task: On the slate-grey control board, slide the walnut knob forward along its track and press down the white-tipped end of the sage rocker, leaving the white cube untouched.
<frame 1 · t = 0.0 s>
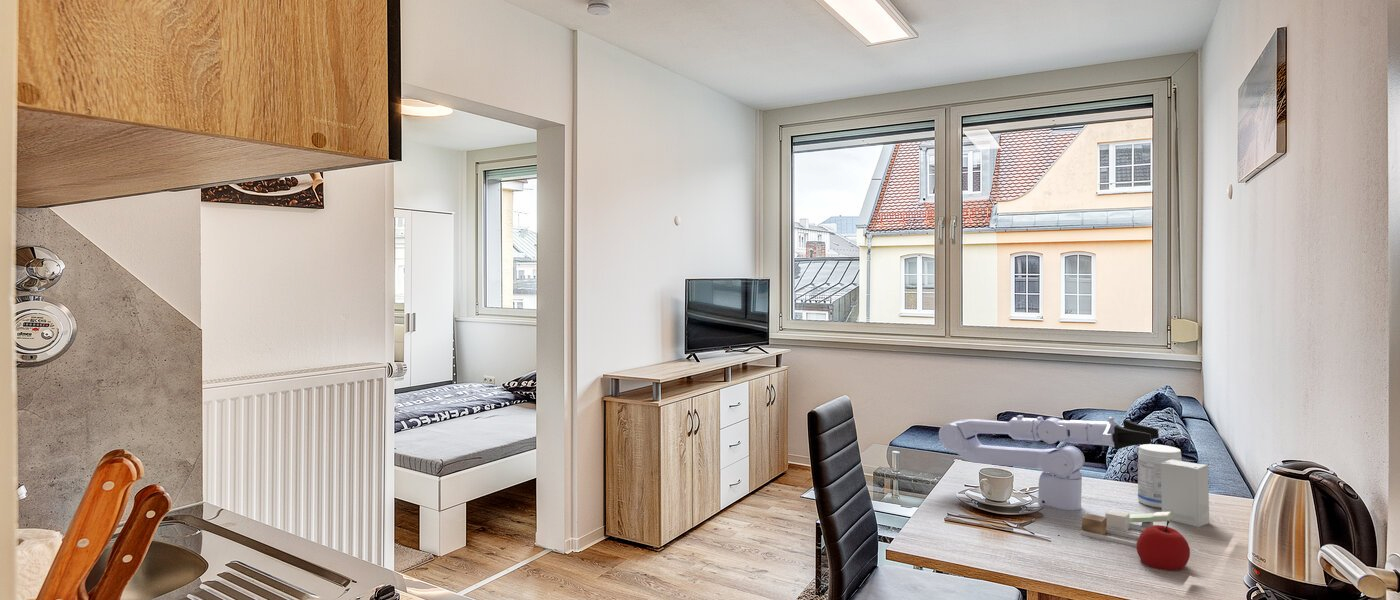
hand: (1154, 436, 170), 22 cm above the table, tool horizontal, fingers open, 7 cm apart
control board: (1126, 536, 165), on the table
supplement tub: (1158, 504, 190), on the table
apple: (1162, 571, 146), on the table
walnut knob: (1094, 525, 164), point 3 cm above the table, slide at 0.0 cm
white cube: (1117, 520, 167), point 3 cm above the table, slide at 0.0 cm
skincare box: (1184, 526, 173), on the table
sage rocker: (1147, 517, 167), point 4 cm above the table, hinge at -15.0°
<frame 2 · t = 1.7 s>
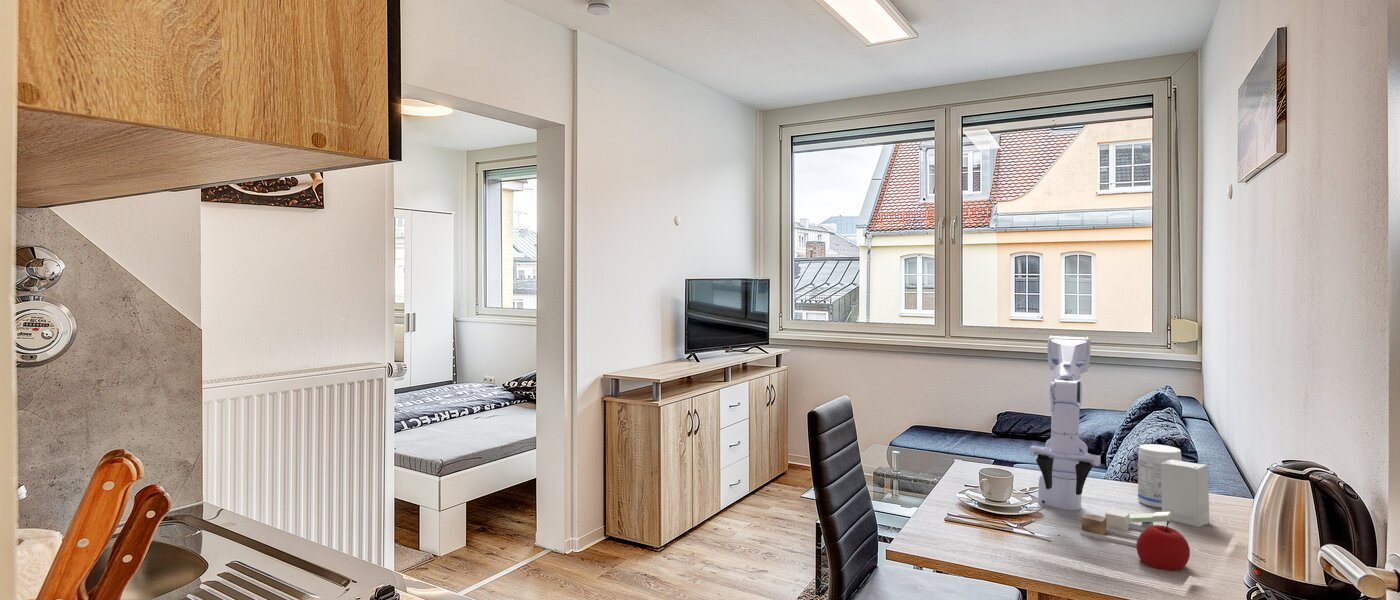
hand: (1063, 491, 168), 9 cm above the table, tool pointing down, fingers open, 6 cm apart
nothing on the table moved.
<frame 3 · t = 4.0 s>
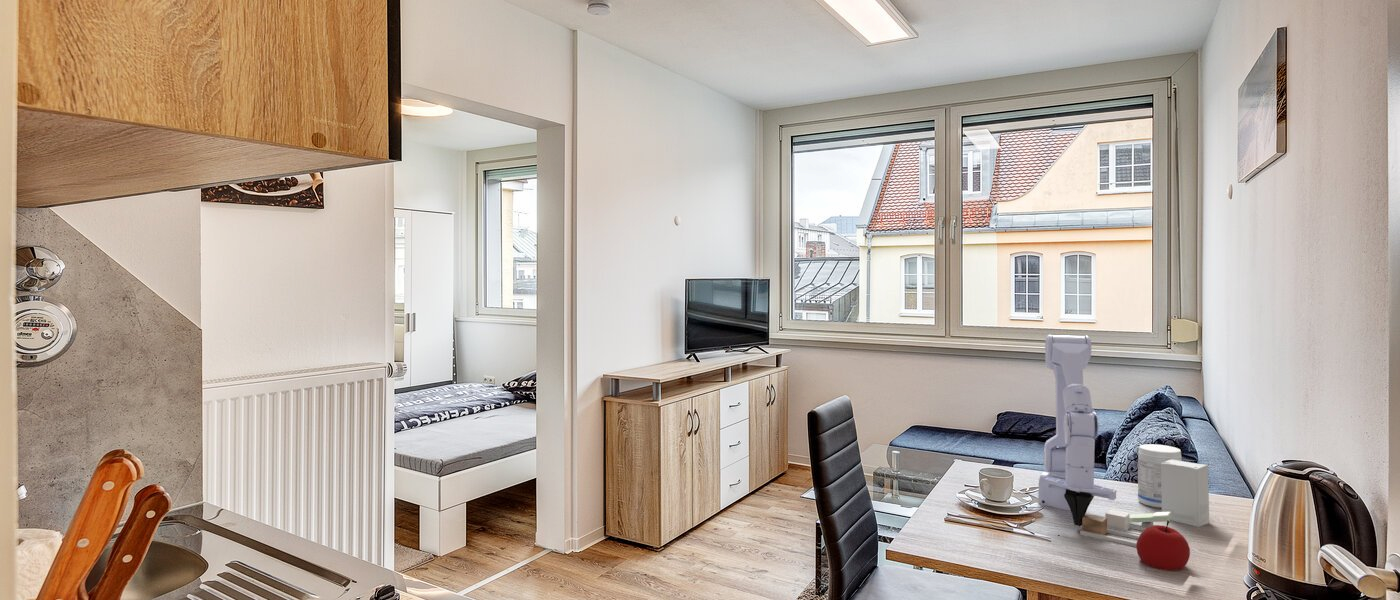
hand: (1078, 524, 166), 2 cm above the table, tool pointing down, fingers closed
walnut knob: (1094, 525, 164), point 3 cm above the table, slide at 0.1 cm, touching gripper
everything else where it was.
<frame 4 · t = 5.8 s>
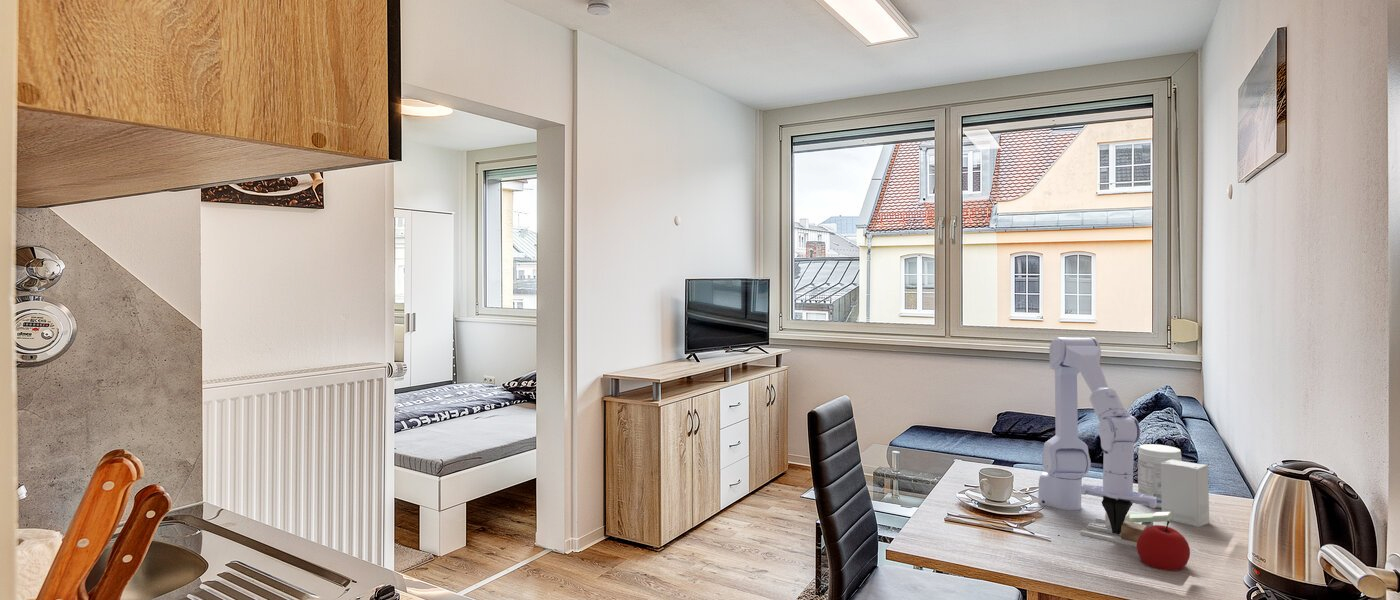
hand: (1116, 532, 161), 2 cm above the table, tool pointing down, fingers closed
walnut knob: (1133, 533, 158), point 3 cm above the table, slide at 7.8 cm, touching gripper
everything else where it was.
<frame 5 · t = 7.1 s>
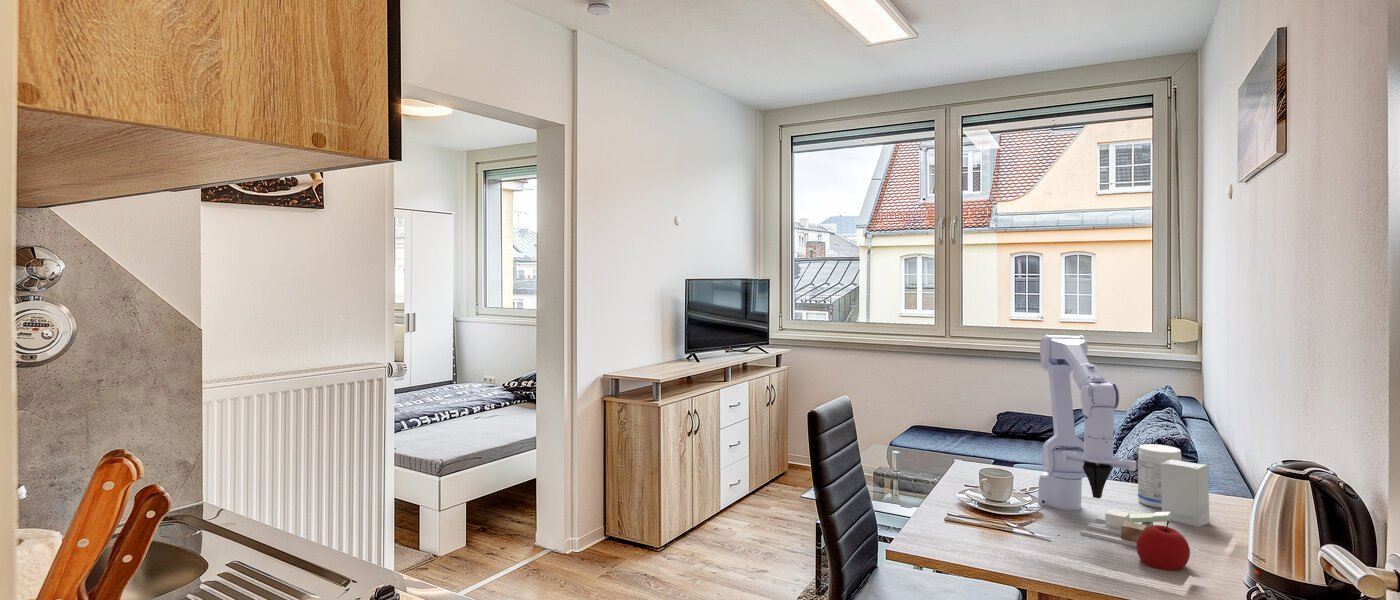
hand: (1097, 497, 164), 9 cm above the table, tool pointing down, fingers closed
walnut knob: (1133, 533, 158), point 3 cm above the table, slide at 7.8 cm
everything else where it was.
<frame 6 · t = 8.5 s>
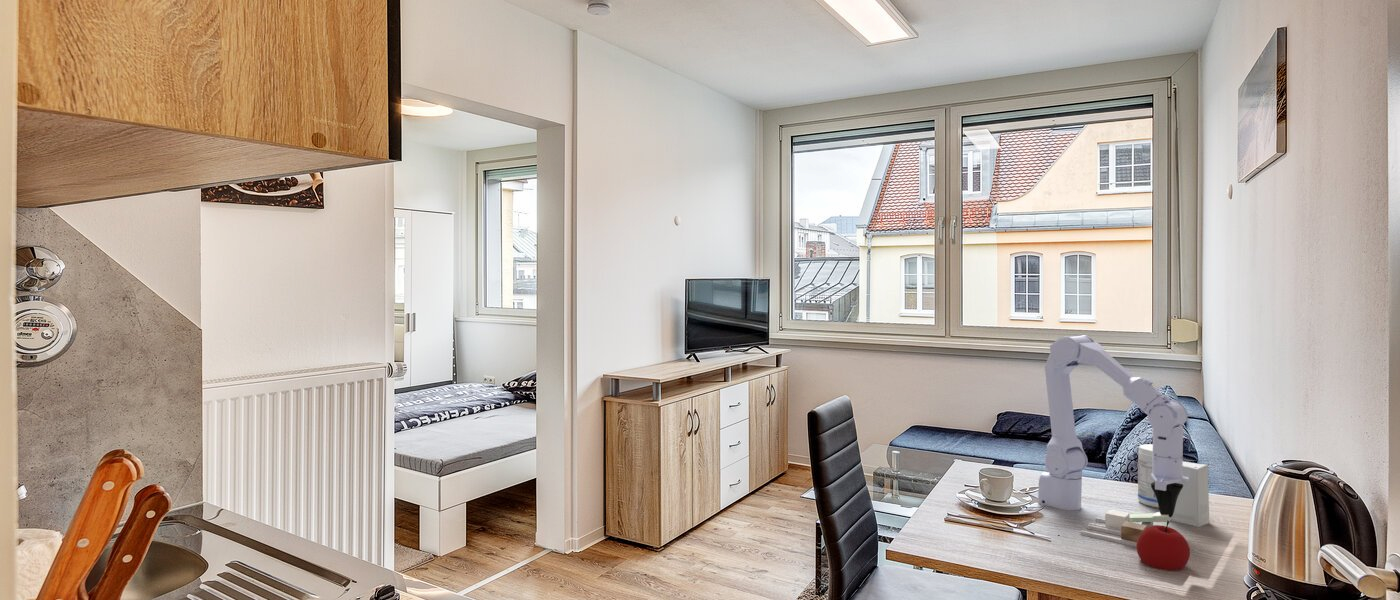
hand: (1166, 515, 164), 5 cm above the table, tool pointing down, fingers closed, pressing on sage rocker
sage rocker: (1147, 517, 167), point 4 cm above the table, hinge at -13.7°, touching gripper
everything else where it was.
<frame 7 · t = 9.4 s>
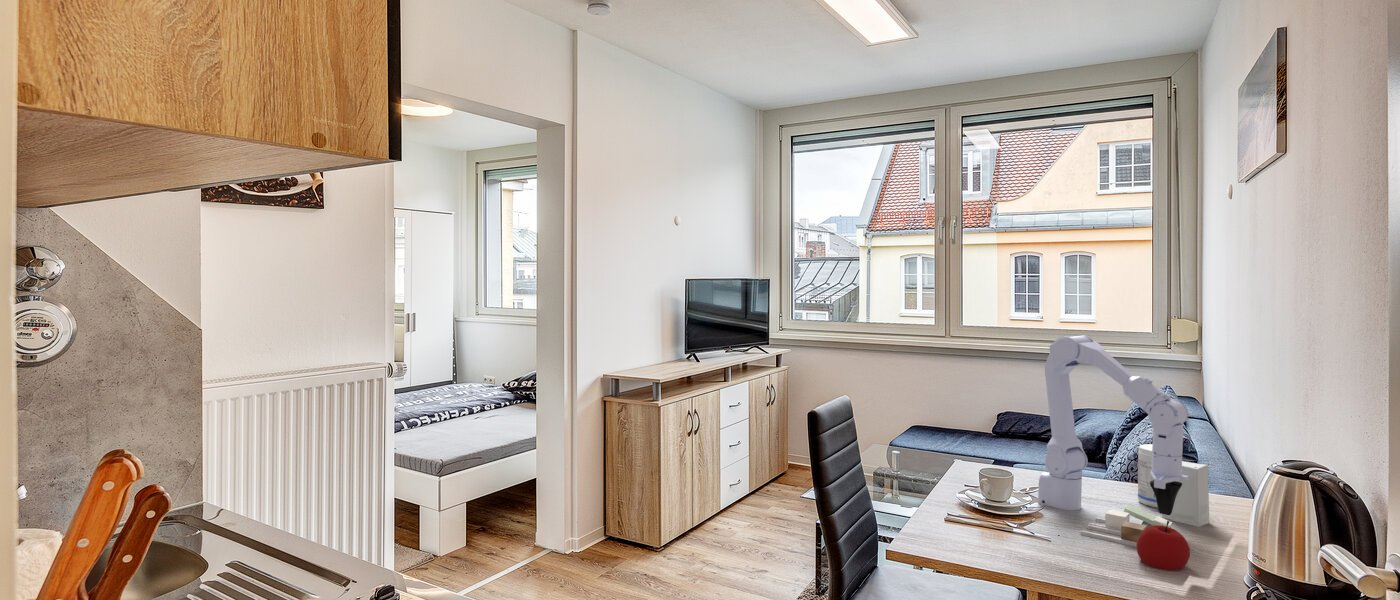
hand: (1165, 513, 165), 5 cm above the table, tool pointing down, fingers closed
sage rocker: (1147, 517, 167), point 4 cm above the table, hinge at 15.6°
everything else where it was.
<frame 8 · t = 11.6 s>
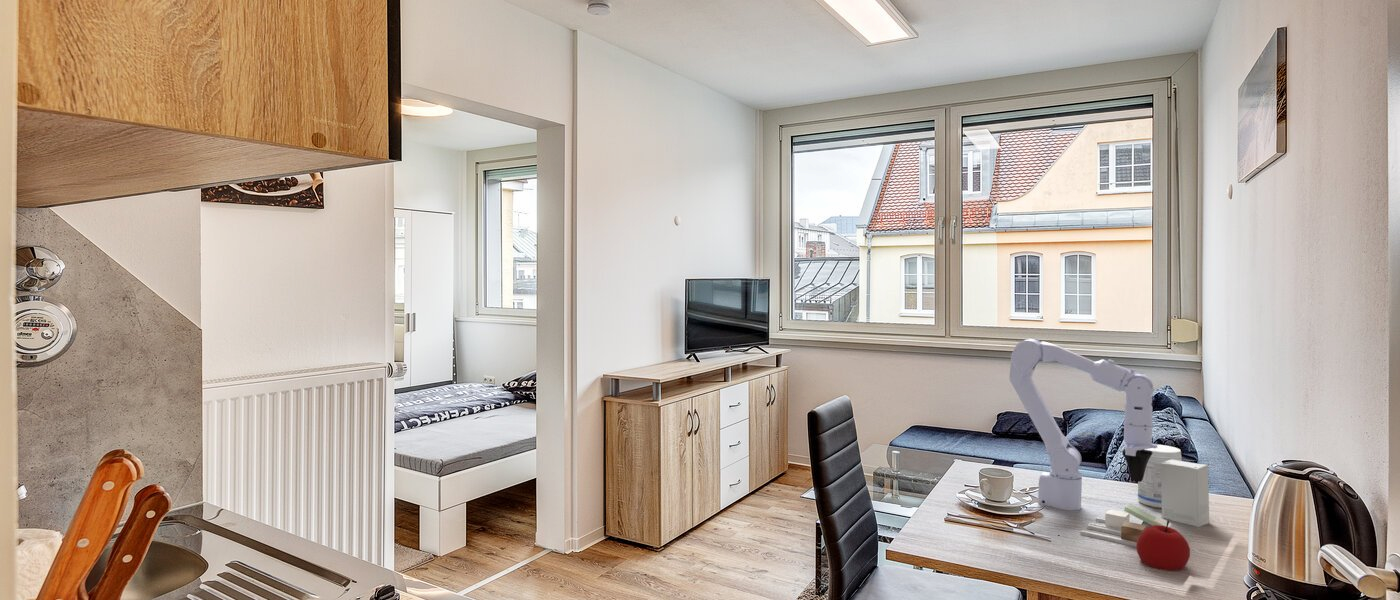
hand: (1136, 480, 175), 10 cm above the table, tool pointing down, fingers closed
sage rocker: (1147, 517, 167), point 4 cm above the table, hinge at 20.4°
everything else where it was.
at the end: walnut knob slide at 7.8 cm; sage rocker at +20° (first picture: -15°); white cube slide at 0.0 cm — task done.
